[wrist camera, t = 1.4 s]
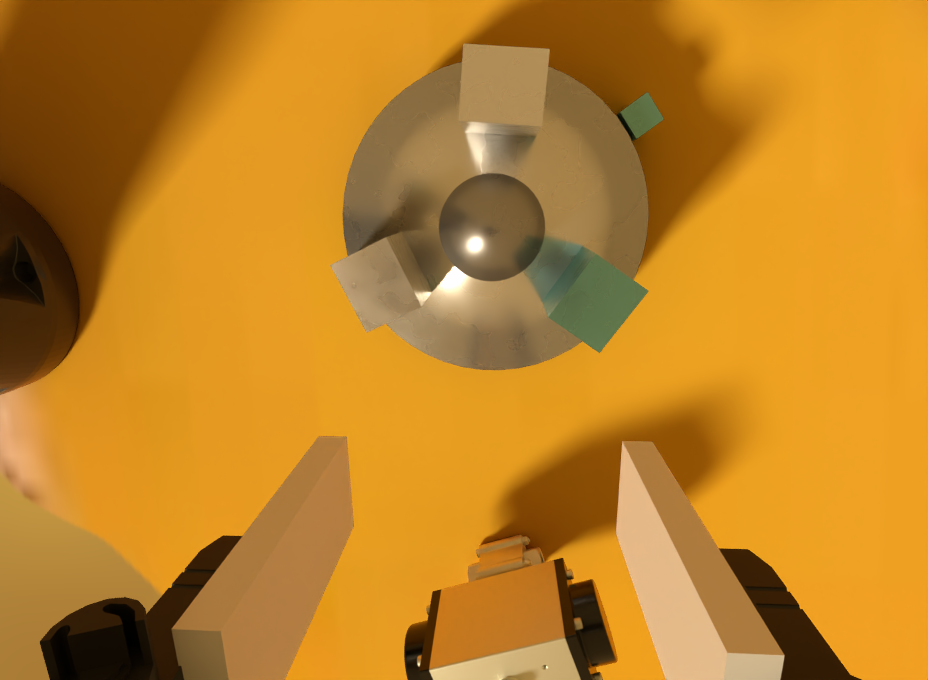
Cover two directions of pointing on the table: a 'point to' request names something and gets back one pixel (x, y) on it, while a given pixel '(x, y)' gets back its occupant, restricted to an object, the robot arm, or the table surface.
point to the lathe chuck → (495, 214)
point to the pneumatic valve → (512, 622)
